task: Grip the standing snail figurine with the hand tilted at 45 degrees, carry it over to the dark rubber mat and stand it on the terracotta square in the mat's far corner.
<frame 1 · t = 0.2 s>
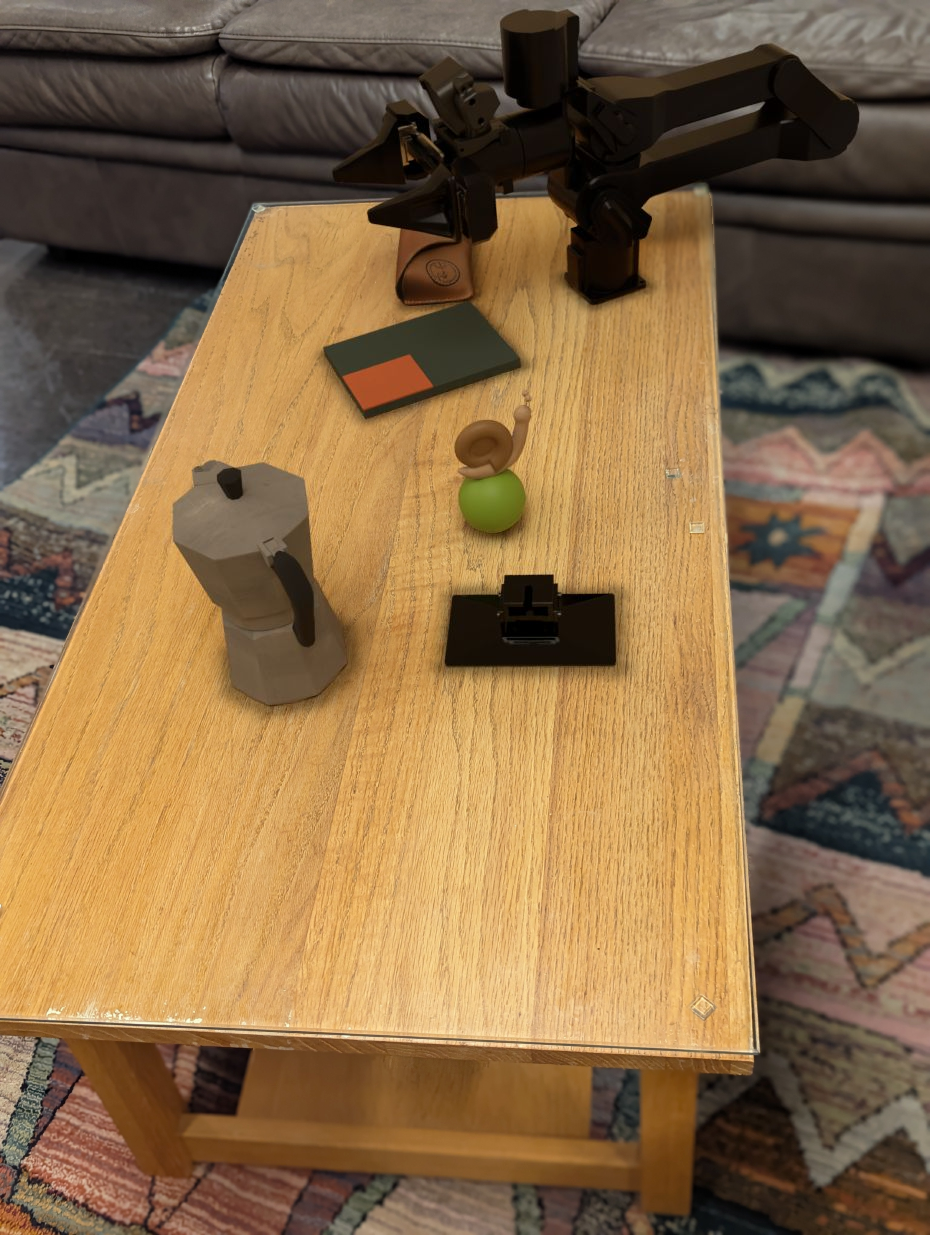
hand: (350, 195, 94), 17 cm above the table, tool horizontal, fingers open, 9 cm apart
corner mat: (420, 361, 105), on the table
coffeepot: (296, 669, 80), on the table
sunglasses case: (438, 261, 119), on the table
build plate: (531, 632, 80), on the table
snail figurine: (500, 524, 89), on the table
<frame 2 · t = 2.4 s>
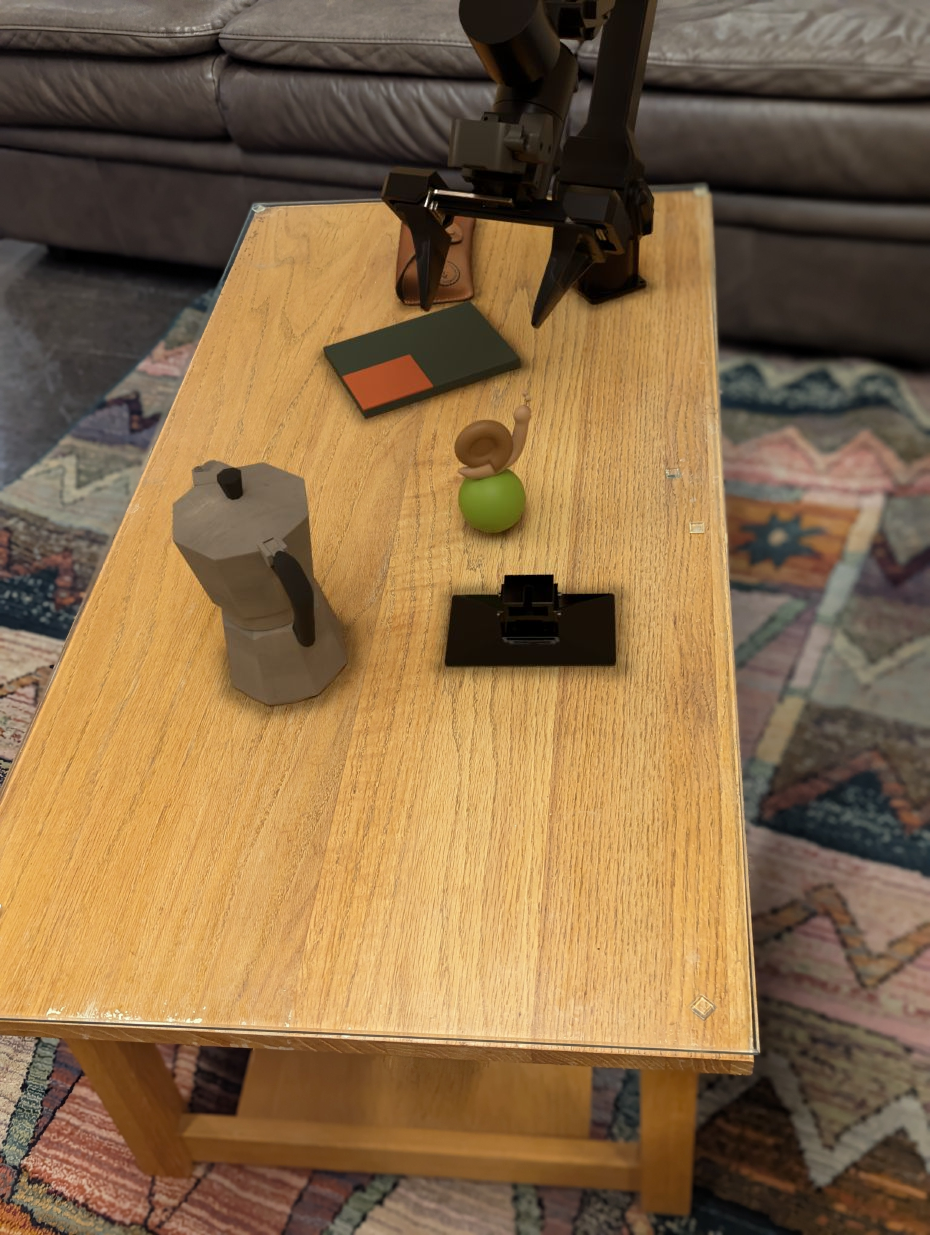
hand: (478, 318, 83), 15 cm above the table, tool tilted 50°, fingers open, 9 cm apart
nothing on the table moved.
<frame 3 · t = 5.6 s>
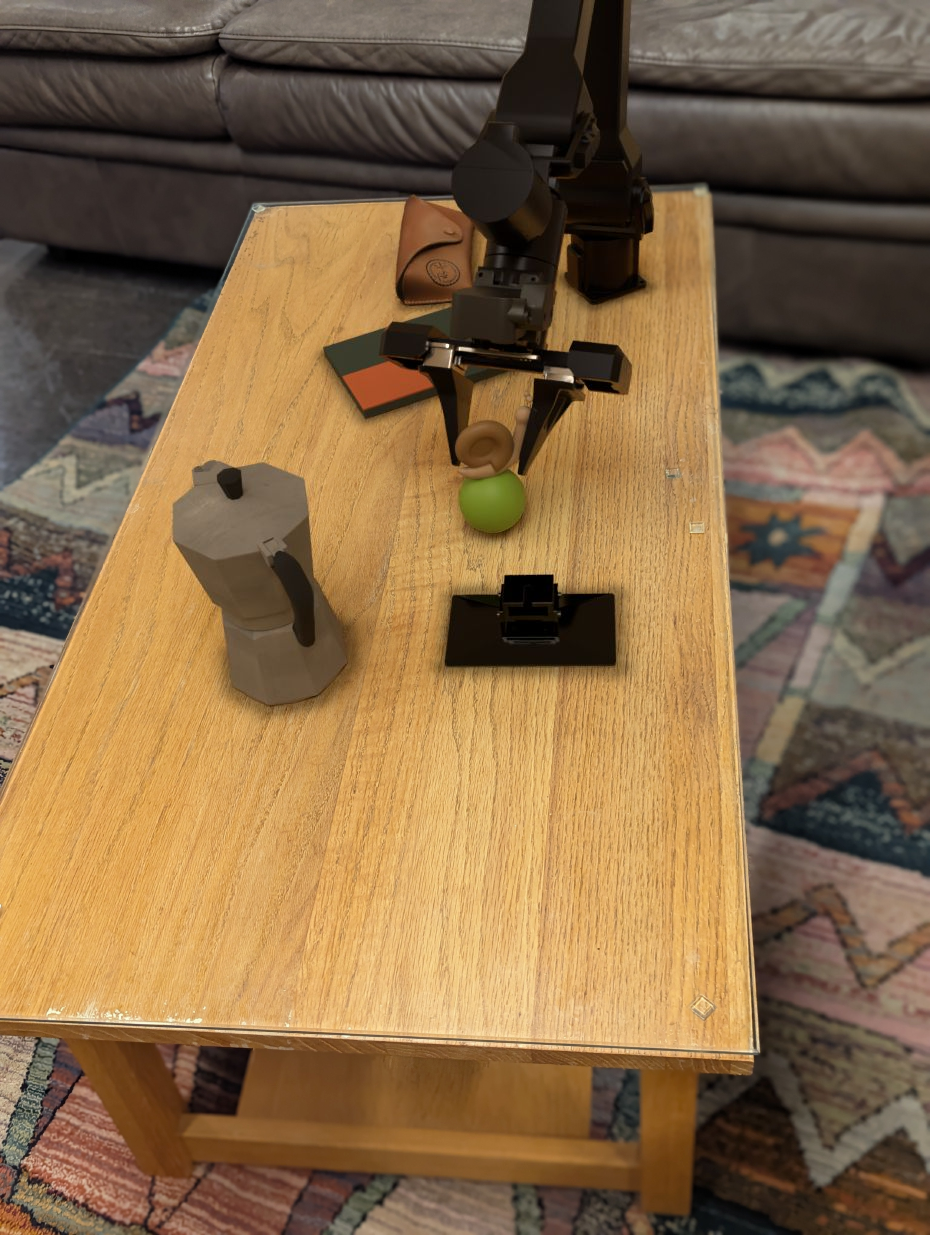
hand: (487, 470, 83), 7 cm above the table, tool tilted 45°, fingers closed on snail figurine, 5 cm apart
snail figurine: (500, 524, 89), on the table, touching gripper
everything else where it was.
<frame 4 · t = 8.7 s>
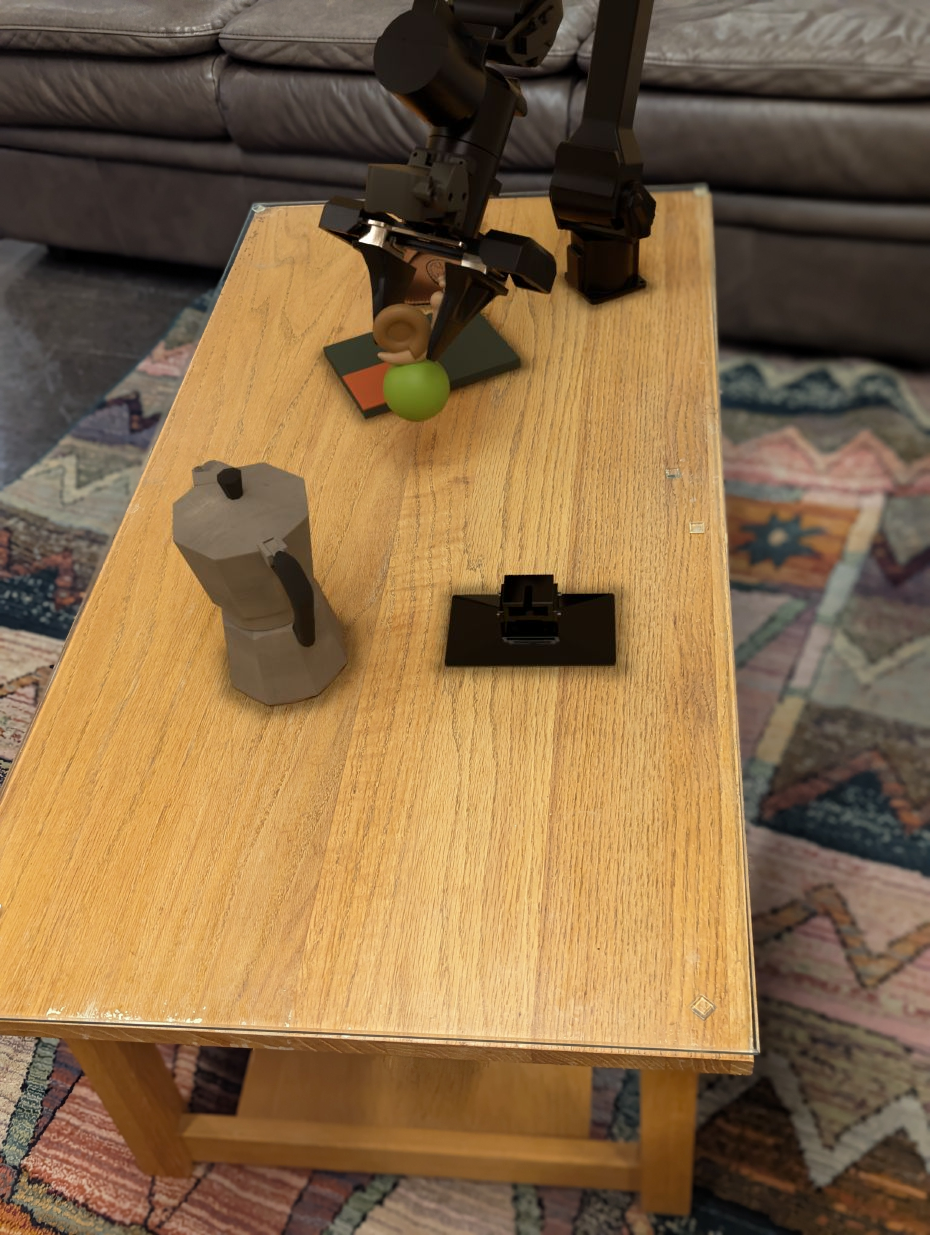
hand: (404, 353, 84), 13 cm above the table, tool tilted 45°, fingers closed on snail figurine, 4 cm apart
snail figurine: (427, 415, 90), point 6 cm above the table, touching gripper
everything else where it was.
when the fingers open (8 cm above the table, at t = 12.0 s): snail figurine stays where it is, resting on corner mat.
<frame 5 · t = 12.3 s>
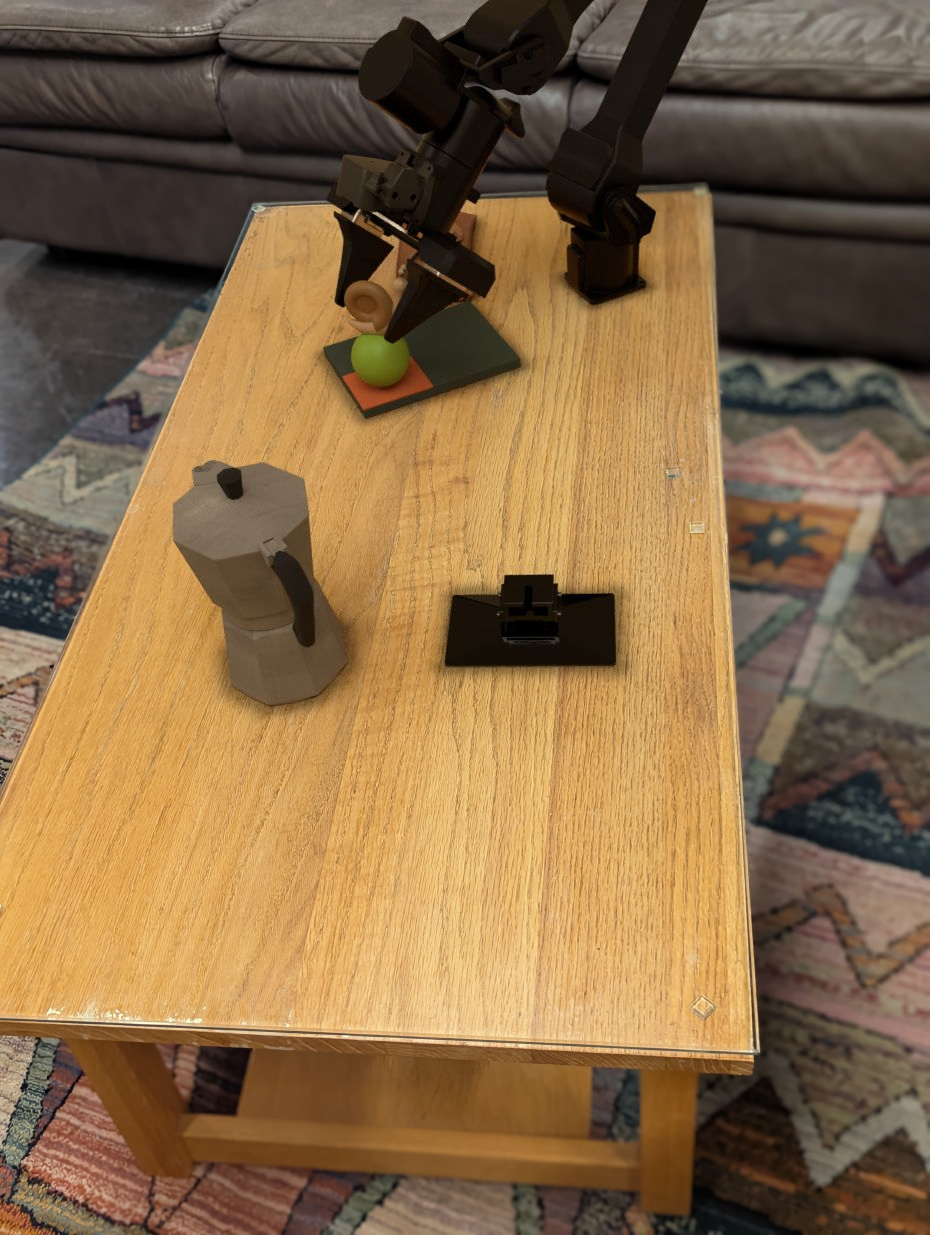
hand: (362, 323, 96), 8 cm above the table, tool tilted 45°, fingers open, 8 cm apart
snail figurine: (390, 383, 102), point 1 cm above the table, touching corner mat
everything else where it was.
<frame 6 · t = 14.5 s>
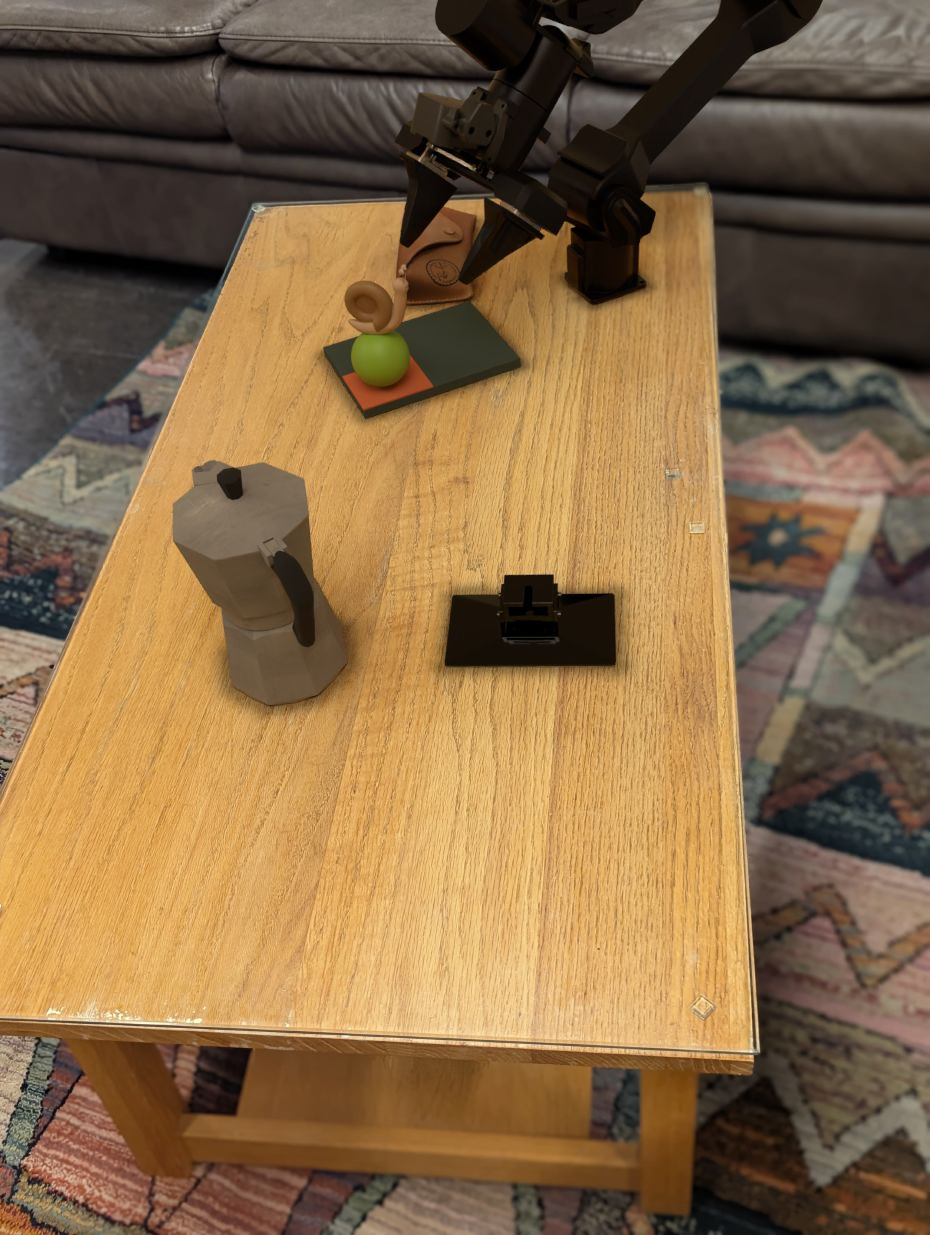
hand: (431, 263, 97), 11 cm above the table, tool tilted 45°, fingers open, 9 cm apart
nothing on the table moved.
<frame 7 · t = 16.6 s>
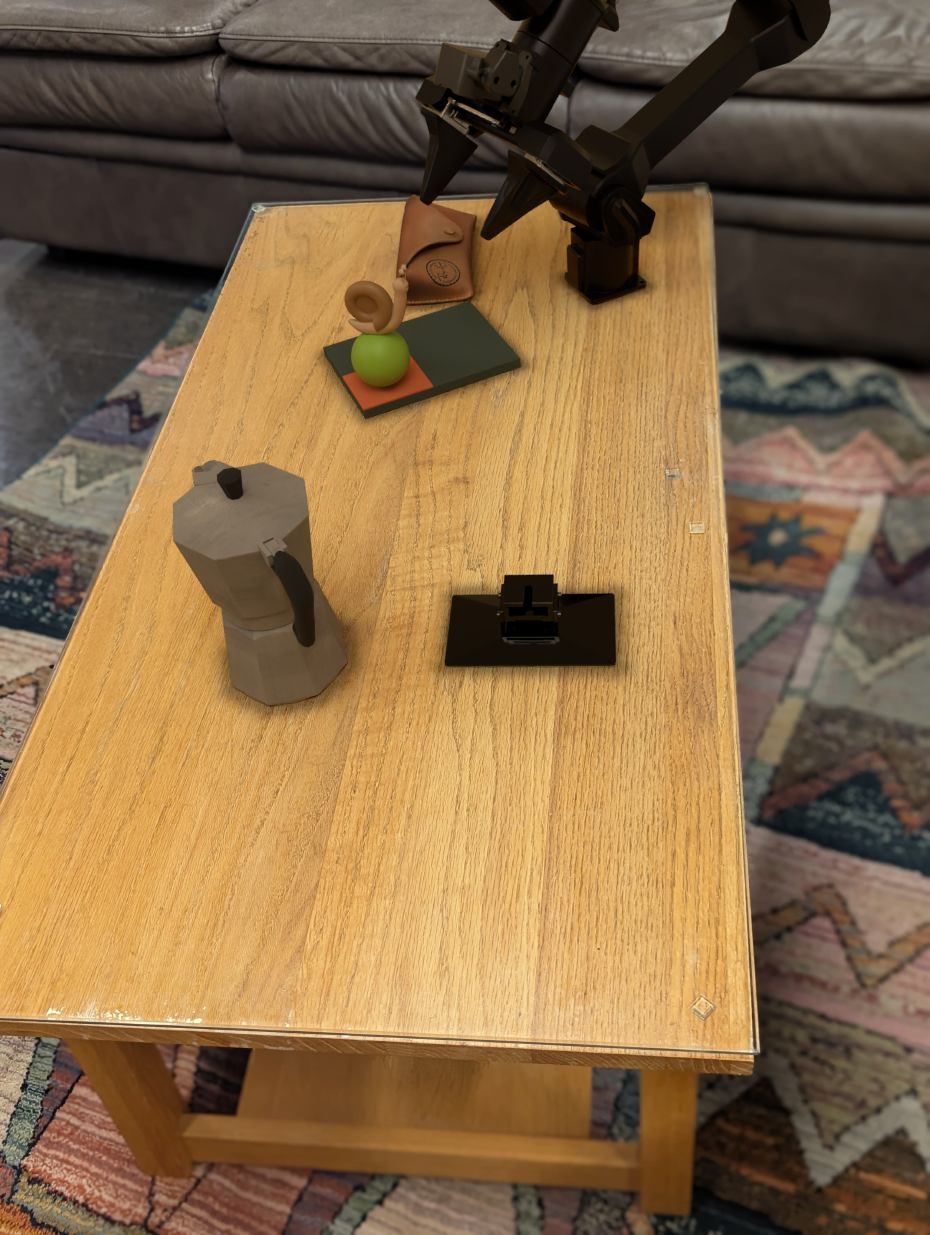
hand: (453, 220, 96), 14 cm above the table, tool tilted 45°, fingers open, 9 cm apart
nothing on the table moved.
at the end: snail figurine 0.4 cm from the target spot on the corner mat, point 1.0 cm above the corner mat's base; snail figurine tilted 0°; the gripper is holding nothing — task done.
